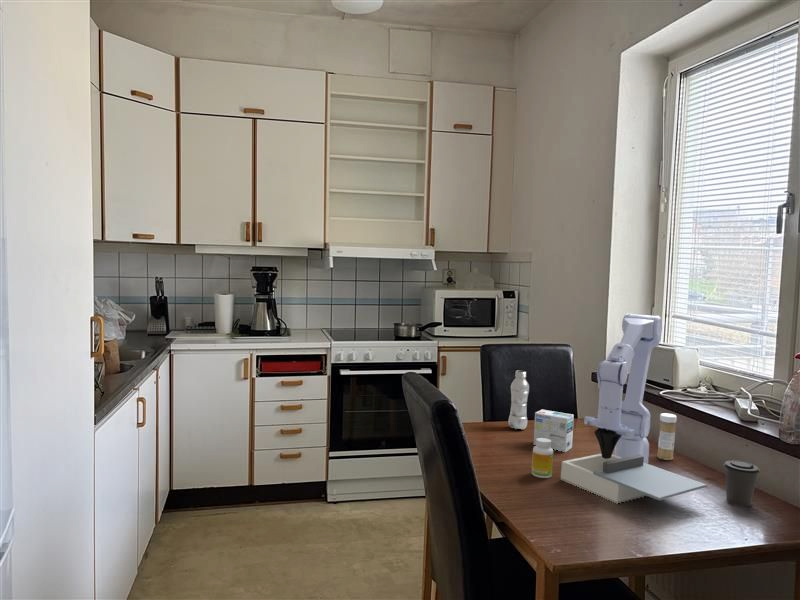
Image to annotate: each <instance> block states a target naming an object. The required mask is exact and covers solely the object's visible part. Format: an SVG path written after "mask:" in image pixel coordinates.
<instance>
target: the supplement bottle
mask: <svg viewBox="0 0 800 600" xmlns="http://www.w3.org/2000/svg"><path fill="white" fill-rule="evenodd" d="M536 445H537V446H533V448H532V460H531V475H533V476H534V477H536V478H540V479H550V478H551V477H552V476H553V463H554V460H553V459H554V450H553V449H552V448H550V446H551V440H550V439H546V438H537V439H536Z"/></svg>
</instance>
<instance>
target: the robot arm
mask: <svg viewBox="0 0 800 600" xmlns="http://www.w3.org/2000/svg"><path fill="white" fill-rule="evenodd" d="M621 329H622V333H623V335H622V338H621V340H620V342H619V343H616V344H614V346H613V348H612V349H611V351H610V352H609V354H608V356H607V358H606V359H605V360H603V361H600V362H599V364H598V366H597V370H596V376H597V377H596V379H597V389H599V393H598V408H597V409H598V411H597V417H593V416H584V420H583V421H584V422H583V424H584V425H587V426H588V425H589V426H592V427H594V428H597V429H595V430H594V432H593V433H594V435H595V437H596V439H597V442H598V444H599V448H600V452H601V453H600V454H602V458H605V459H608V458H611V456H612V455H615V456H618V457H621V458H626V457H630V456H635V455H641V456H644V463H646V464H649V452H650V443H649V440H648V438H647V437H648V435H649V433H650V430H651V416H652V415H651V413H650V411H649V409H648V408H647V407H645V405H644V404H643V400H644V393H645V389H646V385H647V383H646V382H647V377H648V372H649V366H650V360H651V356H652V351H653V349H655V348H656V347H658V346H659V345H660V342H661V336H662V331H663V320H662V318H661V316H660V315H647V314H635V313H630V312H627V313H626V314H625V315H624V316H623V318H622V322H621ZM629 367H630V368H629ZM628 375H629V376H628ZM627 379H628V380H627ZM626 382H627V385H626V384H625V383H626ZM624 385H626V391H625V395H624V400H623V391H624ZM613 452H614V453H613Z"/></svg>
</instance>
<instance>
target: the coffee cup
mask: <svg viewBox="0 0 800 600" xmlns="http://www.w3.org/2000/svg"><path fill="white" fill-rule="evenodd" d="M723 466H724V467H725V486H726V487H725V489H726V501H727V502H728V503H731V504H733V505H735V506H740V507H750V506H751V505H752V502H753V495H754V492H755V488H756V485H757V484H756V483H757V479H758V474H759V473H760V472H761V469H760V468H759V466H757V465H755V464H753V463H750V462H748V461H744V460H737V459H736V460H726V461H724V463H723Z"/></svg>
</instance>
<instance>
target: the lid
mask: <svg viewBox="0 0 800 600" xmlns="http://www.w3.org/2000/svg"><path fill="white" fill-rule="evenodd" d="M593 474H594V475H597V476H599V477H602V478H604V479H607V480H609V481H612V482H614V483H617V484H619V485H622V486H624V487H627V488H629V489H632V490H634V491H637V492H639V493H642V494H644V495H647V496H646V497H649V498H652V499H654V500H657V501H662V500H665V499H669V498H673V497H677V496H680V495H683V494H687V493H690V492H694V491H697V490H700V489H704V488H705V489H706V488H707V486H708V484H706V483H703V482H700V481H697V480H694V479H693V478H692V479H691V478H689V477H686V476H683V475H680V474H677V473H675V472H672V471H669V470H666V469H663V468H661V467H657V466H655V465H652V464H649V463H648V464H646V463H644V456H641V455H635V456H630V457H626V458H621V459H616V460H611V461H607V462H603V470H599V471H594V472H593Z"/></svg>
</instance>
